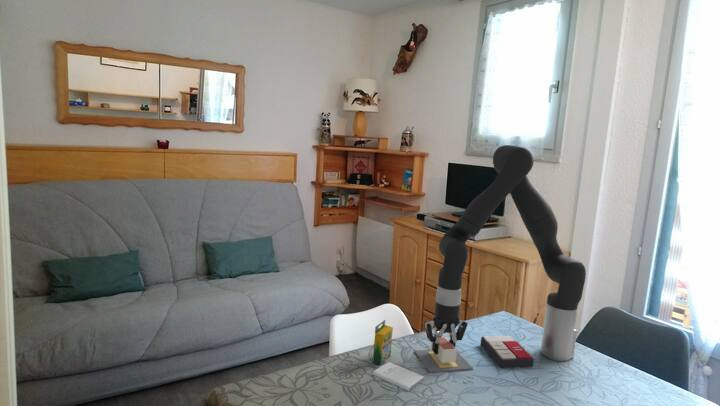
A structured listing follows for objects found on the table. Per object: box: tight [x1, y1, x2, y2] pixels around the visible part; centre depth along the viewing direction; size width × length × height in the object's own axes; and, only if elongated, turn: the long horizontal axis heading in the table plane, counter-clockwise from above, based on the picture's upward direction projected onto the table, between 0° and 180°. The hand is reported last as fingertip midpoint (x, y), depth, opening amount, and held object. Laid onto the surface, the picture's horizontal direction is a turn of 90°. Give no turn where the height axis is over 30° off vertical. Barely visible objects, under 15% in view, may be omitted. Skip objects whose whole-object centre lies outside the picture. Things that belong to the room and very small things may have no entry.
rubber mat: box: [414, 349, 474, 374], centre depth 140 cm, size 14×13×1 cm
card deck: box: [430, 336, 458, 363], centre depth 139 cm, size 9×4×4 cm, turn 13°
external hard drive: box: [372, 361, 425, 392], centre depth 129 cm, size 2×8×12 cm
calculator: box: [479, 335, 535, 369], centre depth 145 cm, size 11×4×15 cm
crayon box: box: [372, 319, 394, 366], centre depth 137 cm, size 7×3×12 cm, turn 152°
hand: (443, 352), depth 139 cm, fingers closed on card deck, 4 cm apart
